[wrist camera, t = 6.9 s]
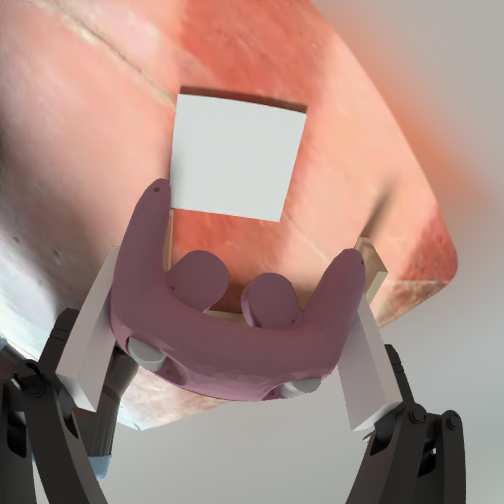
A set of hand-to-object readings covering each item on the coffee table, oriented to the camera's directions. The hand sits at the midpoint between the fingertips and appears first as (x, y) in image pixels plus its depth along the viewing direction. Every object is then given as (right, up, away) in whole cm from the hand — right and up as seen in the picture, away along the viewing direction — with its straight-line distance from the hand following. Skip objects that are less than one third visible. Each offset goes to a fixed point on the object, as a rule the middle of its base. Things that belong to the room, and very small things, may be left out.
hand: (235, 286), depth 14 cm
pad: (-1, +10, +12) cm, 16 cm away
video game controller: (0, +1, 0) cm, 1 cm away
